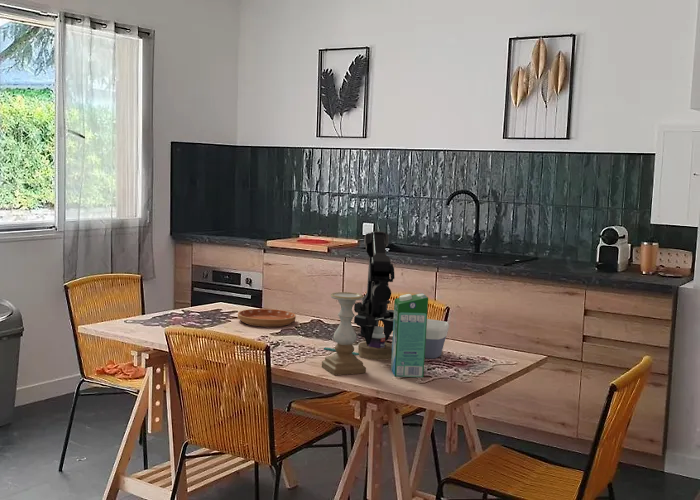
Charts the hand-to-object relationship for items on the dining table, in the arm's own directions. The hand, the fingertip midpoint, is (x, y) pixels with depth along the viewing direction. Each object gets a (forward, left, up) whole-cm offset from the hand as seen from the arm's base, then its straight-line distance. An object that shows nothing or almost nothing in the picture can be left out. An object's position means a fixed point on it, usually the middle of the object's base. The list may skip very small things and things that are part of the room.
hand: (376, 342), depth 274 cm
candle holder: (+23, +6, -5) cm, 24 cm away
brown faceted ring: (0, 0, -4) cm, 4 cm away
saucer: (-7, -63, -5) cm, 64 cm away
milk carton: (+10, +21, -5) cm, 24 cm away
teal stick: (+6, -10, -4) cm, 12 cm away
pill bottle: (0, 0, -5) cm, 5 cm away
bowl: (-15, +9, -5) cm, 18 cm away
